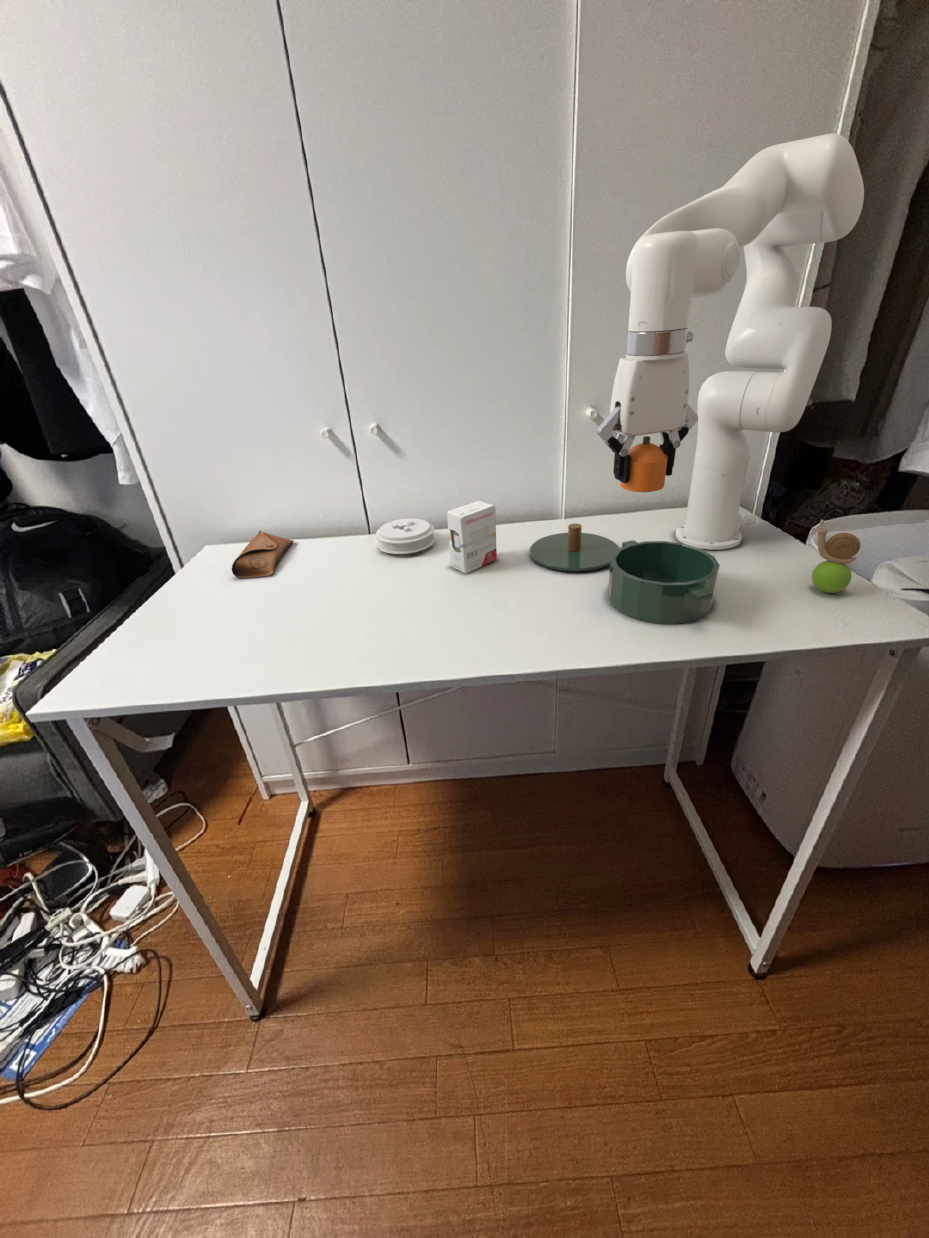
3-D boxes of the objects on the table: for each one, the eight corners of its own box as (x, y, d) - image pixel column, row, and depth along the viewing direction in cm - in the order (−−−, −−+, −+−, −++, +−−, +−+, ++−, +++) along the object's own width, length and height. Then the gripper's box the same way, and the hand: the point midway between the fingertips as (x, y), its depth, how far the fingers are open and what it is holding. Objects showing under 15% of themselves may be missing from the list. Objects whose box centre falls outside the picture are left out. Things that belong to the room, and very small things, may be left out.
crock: (664, 564, 103) (668, 529, 100) (745, 620, 85) (755, 580, 81) (584, 580, 100) (586, 545, 96) (651, 641, 82) (657, 601, 78)
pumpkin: (649, 476, 86) (654, 429, 82) (672, 488, 81) (679, 438, 77) (612, 482, 85) (615, 435, 81) (634, 494, 79) (638, 444, 76)
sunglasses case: (274, 573, 110) (250, 549, 107) (249, 591, 112) (225, 567, 109) (295, 539, 126) (274, 517, 123) (273, 555, 128) (252, 534, 125)
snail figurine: (802, 580, 95) (821, 514, 88) (846, 587, 92) (868, 519, 85) (800, 593, 91) (819, 526, 85) (845, 601, 88) (869, 532, 82)
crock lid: (592, 532, 119) (594, 505, 116) (636, 564, 104) (639, 533, 101) (517, 546, 115) (517, 518, 112) (551, 580, 101) (551, 550, 98)
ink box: (482, 553, 113) (479, 499, 107) (498, 561, 110) (496, 504, 104) (449, 567, 109) (444, 510, 103) (465, 575, 105) (461, 517, 99)
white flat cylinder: (440, 534, 124) (438, 513, 121) (429, 558, 113) (426, 535, 110) (386, 535, 126) (383, 514, 123) (370, 558, 115) (367, 536, 113)
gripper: (695, 337, 78) (678, 462, 87) (583, 349, 74) (579, 479, 84) (730, 340, 71) (708, 475, 81) (611, 354, 68) (602, 493, 77)
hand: (642, 476), depth 82 cm, fingers closed on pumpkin, 6 cm apart
